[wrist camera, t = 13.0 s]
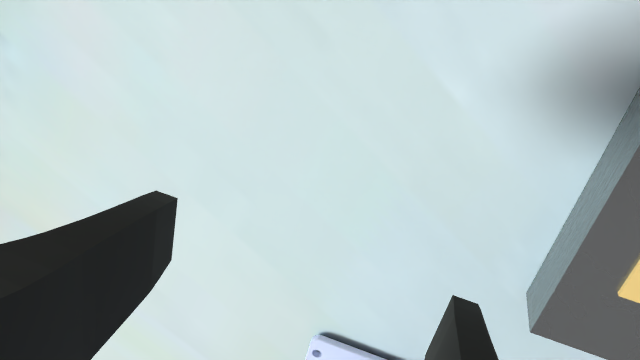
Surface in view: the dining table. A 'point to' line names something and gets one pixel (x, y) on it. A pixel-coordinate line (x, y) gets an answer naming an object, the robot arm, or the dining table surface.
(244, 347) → the dining table surface
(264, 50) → the dining table surface
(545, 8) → the dining table surface
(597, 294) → the rack plate
